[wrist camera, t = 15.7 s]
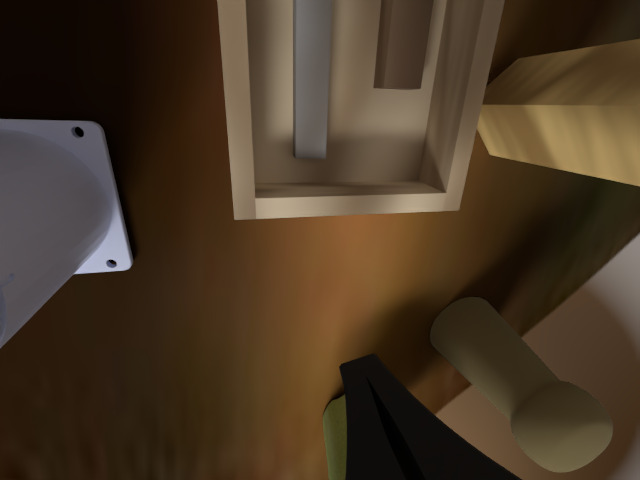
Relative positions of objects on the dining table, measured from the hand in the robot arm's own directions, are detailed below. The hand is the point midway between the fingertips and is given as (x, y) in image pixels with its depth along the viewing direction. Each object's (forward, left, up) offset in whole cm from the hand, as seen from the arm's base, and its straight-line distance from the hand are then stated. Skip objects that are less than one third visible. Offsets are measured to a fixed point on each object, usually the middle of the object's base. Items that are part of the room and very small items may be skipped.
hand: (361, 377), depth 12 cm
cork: (+14, -8, -11) cm, 19 cm away
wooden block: (+12, +9, -10) cm, 19 cm away
